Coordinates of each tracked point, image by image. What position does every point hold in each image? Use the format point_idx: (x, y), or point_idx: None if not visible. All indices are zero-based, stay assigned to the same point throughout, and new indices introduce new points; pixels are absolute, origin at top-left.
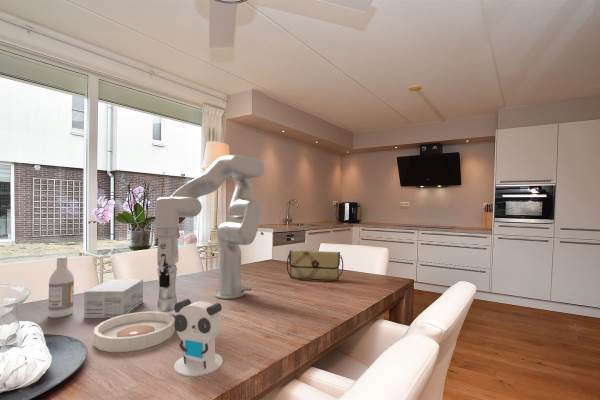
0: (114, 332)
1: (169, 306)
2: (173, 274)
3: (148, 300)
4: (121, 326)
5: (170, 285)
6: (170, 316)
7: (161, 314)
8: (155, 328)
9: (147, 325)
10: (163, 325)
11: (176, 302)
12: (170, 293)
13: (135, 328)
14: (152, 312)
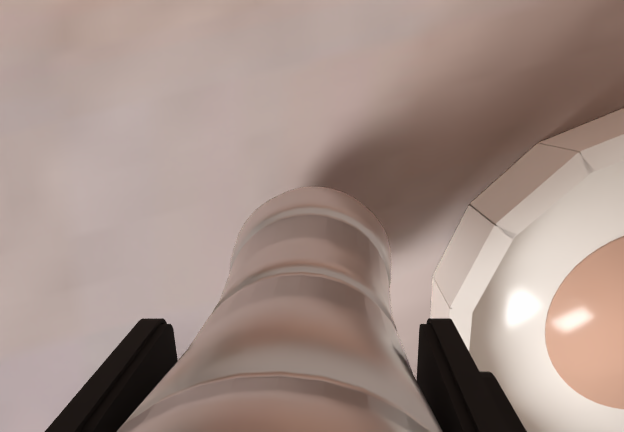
0: (620, 425)
1: (382, 229)
2: (390, 381)
3: (26, 416)
4: (531, 420)
5: (381, 313)
6: (598, 164)
7: (504, 247)
8: (618, 231)
9: (564, 291)
10: (575, 196)
11: (323, 192)
12: (375, 268)
13: (598, 342)
14: (471, 317)
